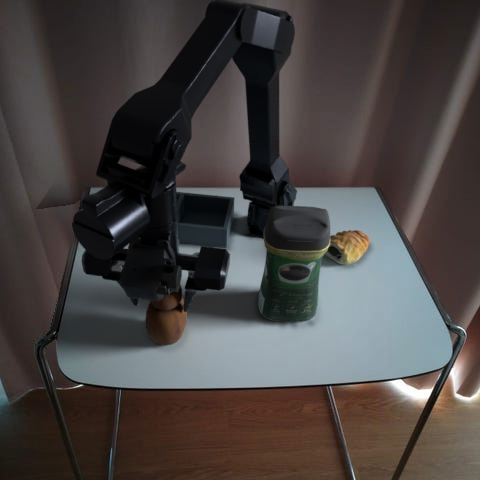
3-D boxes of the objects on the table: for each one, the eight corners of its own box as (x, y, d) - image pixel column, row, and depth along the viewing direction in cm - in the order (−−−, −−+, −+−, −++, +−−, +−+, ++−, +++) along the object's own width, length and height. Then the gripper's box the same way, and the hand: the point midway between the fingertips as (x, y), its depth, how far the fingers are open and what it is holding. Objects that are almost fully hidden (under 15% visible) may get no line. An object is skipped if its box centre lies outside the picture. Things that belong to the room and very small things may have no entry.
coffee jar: (313, 291, 84) (332, 198, 71) (317, 326, 79) (338, 232, 65) (257, 289, 84) (265, 195, 71) (256, 323, 79) (265, 228, 65)
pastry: (349, 232, 96) (353, 216, 93) (377, 250, 93) (382, 233, 90) (317, 252, 92) (320, 236, 89) (345, 271, 88) (350, 254, 86)
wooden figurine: (179, 355, 74) (179, 284, 63) (142, 347, 74) (135, 275, 63) (190, 322, 78) (192, 250, 67) (155, 315, 79) (151, 242, 68)
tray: (234, 214, 99) (234, 197, 96) (226, 247, 92) (227, 230, 89) (133, 204, 100) (131, 187, 97) (119, 236, 93) (116, 218, 90)
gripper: (53, 245, 55) (78, 339, 66) (219, 265, 54) (216, 357, 65) (87, 193, 63) (104, 285, 74) (232, 209, 62) (228, 300, 73)
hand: (161, 307), depth 71 cm, fingers closed on wooden figurine, 7 cm apart
